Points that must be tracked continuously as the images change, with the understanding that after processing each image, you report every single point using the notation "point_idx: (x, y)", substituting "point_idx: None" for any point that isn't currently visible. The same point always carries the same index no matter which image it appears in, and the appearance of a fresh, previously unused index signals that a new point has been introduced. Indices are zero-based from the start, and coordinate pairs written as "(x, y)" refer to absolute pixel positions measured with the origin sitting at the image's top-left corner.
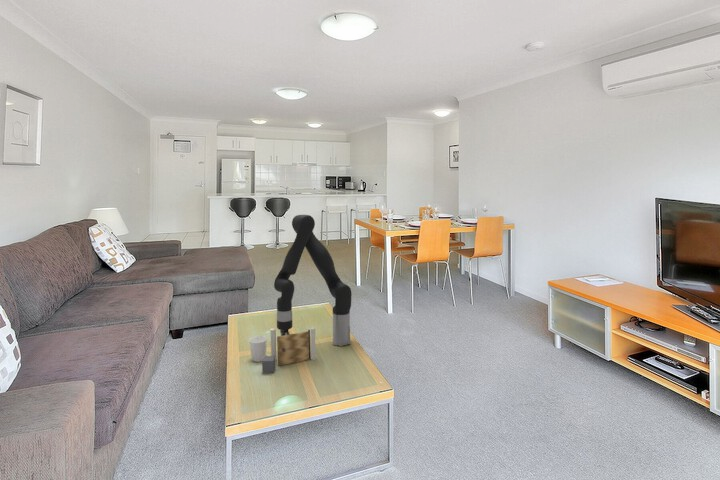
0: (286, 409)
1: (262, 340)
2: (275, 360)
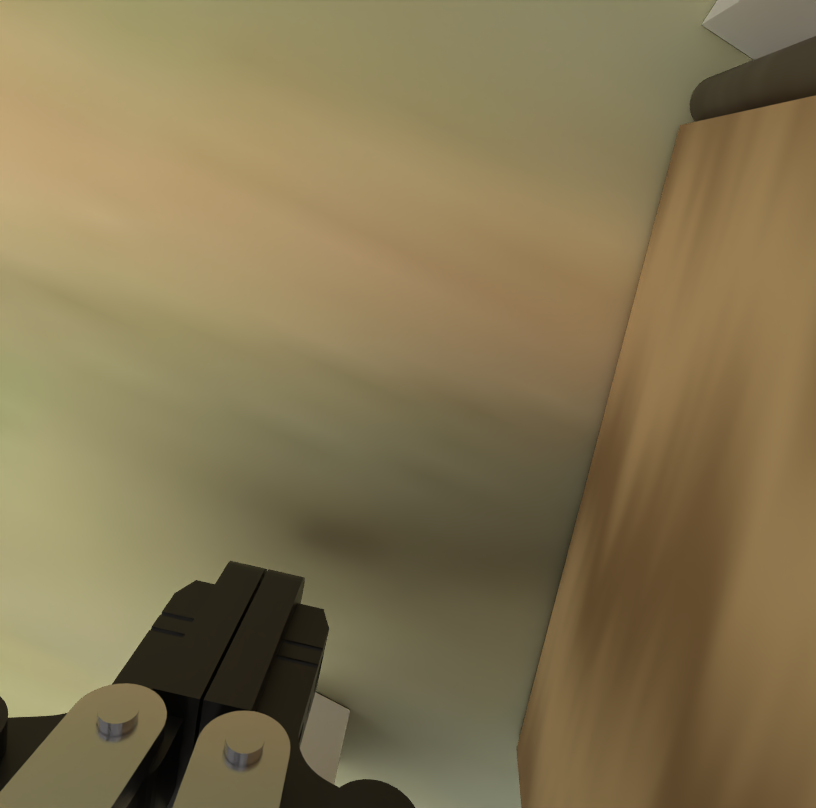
0: None
1: None
2: (343, 725)
